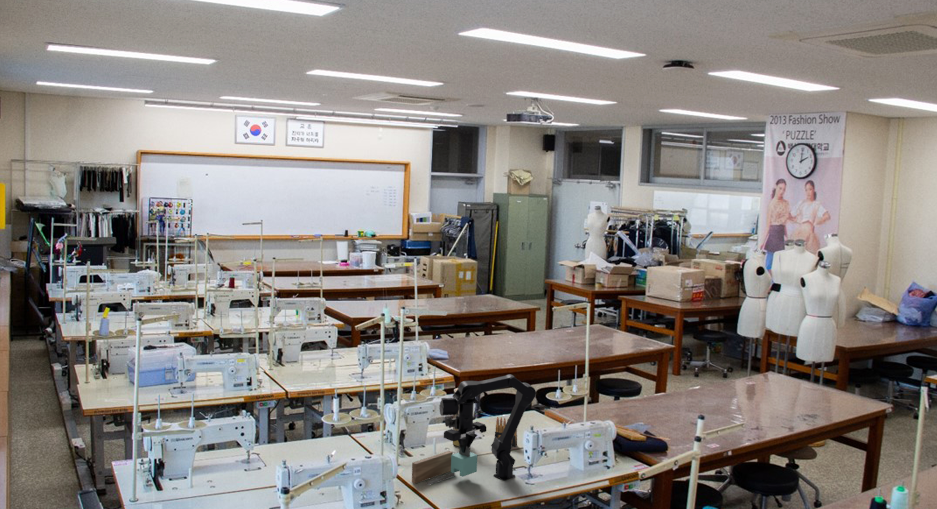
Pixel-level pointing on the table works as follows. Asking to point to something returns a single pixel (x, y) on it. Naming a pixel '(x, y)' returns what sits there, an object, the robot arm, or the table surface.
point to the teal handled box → (464, 462)
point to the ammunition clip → (500, 430)
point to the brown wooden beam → (432, 468)
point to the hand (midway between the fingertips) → (464, 452)
